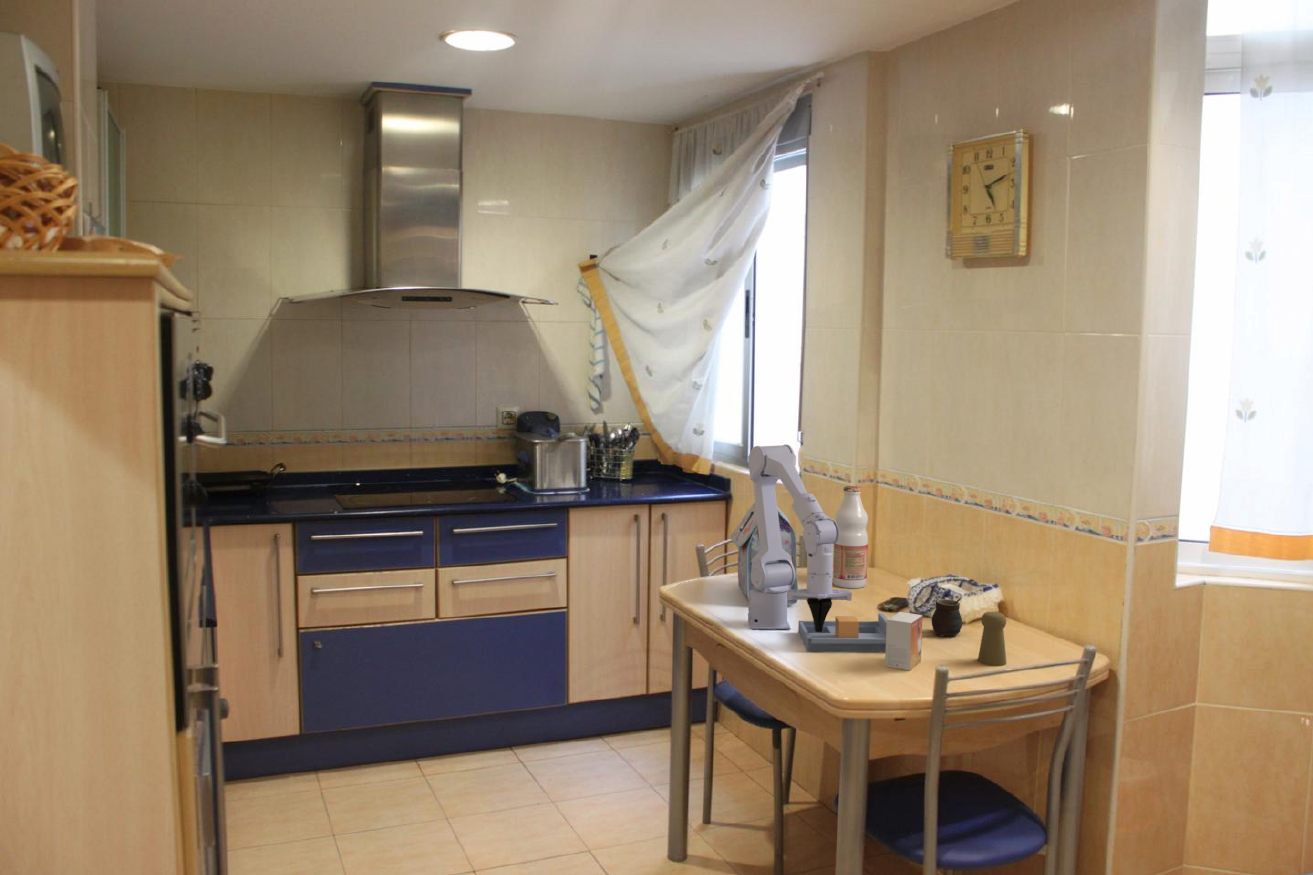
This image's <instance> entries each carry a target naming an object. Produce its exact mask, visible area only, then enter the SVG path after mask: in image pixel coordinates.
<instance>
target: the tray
mask: <svg viewBox="0 0 1313 875" xmlns="http://www.w3.org/2000/svg"><path fill="white" fill-rule="evenodd" d="M877 619H878V620H861V621H860V620H858V621H859V638H837V637H836V636H835V620H825V621H824V624H823V629H822V632H816V631H815V627H814V621H813V620H798V631H797V632H798V635H799V637H800V639H801V641H802V643H803V645H804V647H805V649H806V651H807V652H808V653H886V624H887V619H888V617H886V615H885V614H884V613H883V612H878V617H877Z"/></svg>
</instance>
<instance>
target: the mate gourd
mask: <svg viewBox="0 0 1313 875" xmlns="http://www.w3.org/2000/svg"><path fill="white" fill-rule="evenodd" d="M962 598H963V596H961V597H959V598H958V599H957V600H954V599H950V598H949V599H948V598H939V599H936V600H935V611H934V612H933V614H932V616H931V626H932V630H933V632H934V633H935V634H936V635H938V636H941V637H945V638H953V637H955V636H957V635H958V634H960V633H961V629H962V628H963V619H962V618H963V617H962V615H961V613H960V606H961V603H960V600H962Z"/></svg>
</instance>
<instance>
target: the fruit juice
mask: <svg viewBox="0 0 1313 875" xmlns="http://www.w3.org/2000/svg"><path fill="white" fill-rule="evenodd" d="M843 493H844V495H843V499H842V502H841V504H840V506H839V508H838V510H837V511H836V513H835V519H834V520H835V521H836V523H837V526H838V529H839V538H838V540H837V542H836V543H835V544H833V572H832V584H833V585H834V586H835V587H838V588H843V589H860V588H861V589H862V588H864V587H866V585H867V582H868V578H867V577H868V549H869V548H868V547H869V535H868V531H867V527H868V522H869V516H868V515H869V514H868V513H867V511H866V510H865V507H864V505H863V502H862V498H861V494H862V487H860V486H856V485H845V486H843Z"/></svg>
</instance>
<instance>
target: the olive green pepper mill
mask: <svg viewBox="0 0 1313 875" xmlns="http://www.w3.org/2000/svg"><path fill="white" fill-rule="evenodd" d="M980 621H981V625H982V626H983V630H982V635H981V639H980V640H981V641H980V646H979V647H980V648H979V652H978V658H977V662H978V663H979V664H981V665H985V666H989V667H1000V666H1006V665H1007V656H1006V654H1007V653H1006V644H1005V634H1004V633H1005V632H1004V628H1005V627H1006V625H1007V617H1006V615H1005V614H1003V613H1002V612H998V611H986V612H984V613H983V614H982V616H981V620H980Z"/></svg>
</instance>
